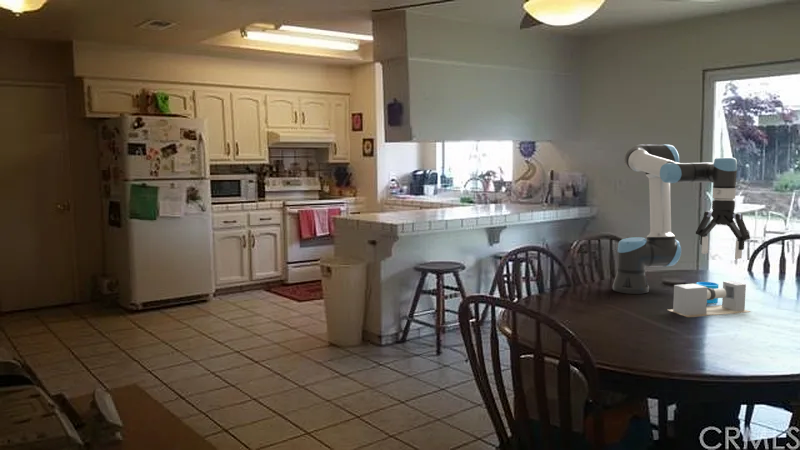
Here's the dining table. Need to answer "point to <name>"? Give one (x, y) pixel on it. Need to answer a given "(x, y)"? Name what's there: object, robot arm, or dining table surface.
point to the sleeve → (690, 299)
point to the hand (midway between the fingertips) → (721, 256)
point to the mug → (709, 285)
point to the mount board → (714, 311)
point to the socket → (734, 296)
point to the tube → (715, 293)
